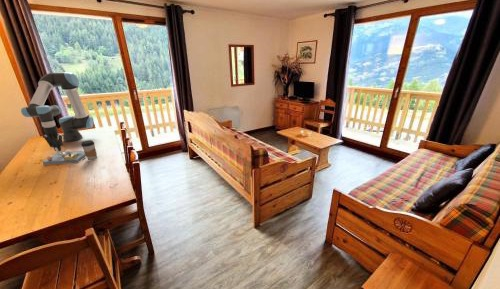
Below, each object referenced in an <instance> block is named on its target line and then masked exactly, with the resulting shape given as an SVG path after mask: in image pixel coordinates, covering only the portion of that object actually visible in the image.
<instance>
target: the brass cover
mask: <svg viewBox="0 0 500 289" xmlns="http://www.w3.org/2000/svg"><path fill="white" fill-rule="evenodd" d="M77 157H78V156H77V154H68V155H66V156H65V157H63V158H64V161H73V160H75V159H76V158H77Z"/></svg>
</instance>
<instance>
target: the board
mask: <svg viewBox="0 0 500 289" xmlns="http://www.w3.org/2000/svg"><path fill="white" fill-rule="evenodd" d="M61 153H65V154H66V155H68V154H77V156H78V157H77V158H76V159H75V160H73V161H64V158H63V157H62V156H61V155H57V153H56V152H55V154H53V155H50V156H51V157H52V158H53V159H52V160H47V158H45V159H44V160H43V161H42V164H43V166H45V165H46V166H47V165H61V164H76V163H79V162H81V161H82V160H83V159H85V158H87V157H86V155H85V153H84V150H82V151H71V152H70V153H66V151H65V152H63V151H61ZM66 155H65V156H66ZM65 156H64V157H65Z"/></svg>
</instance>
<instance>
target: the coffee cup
mask: <svg viewBox="0 0 500 289" xmlns="http://www.w3.org/2000/svg"><path fill="white" fill-rule="evenodd" d="M80 145H81V147H82V149H83V150H82V151H84V153H85V155H86V157H85V158H86V159H87V161H89V162H91V161H95V160H97V159H98V155H97V154H98V153H97V150H96V145H95V142H94V141H93V140H91V139H89V140H84V141H81V144H80Z"/></svg>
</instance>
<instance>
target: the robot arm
mask: <svg viewBox="0 0 500 289" xmlns="http://www.w3.org/2000/svg"><path fill="white" fill-rule="evenodd" d="M37 85H38V87H37V88H36V90H35V92H34V94H33V96H32V98H31V100H30V102H29V104H28V106H25V107H22V108H21V109H20V112H21V114H22V116H23V117H26V118H35V117H36V118H37V117H38V119H39V120H40V124H41V127H42V129H43V131H44V133H45V134H44V135H42V136H41V137H42V138H43V139H44V140H45V141H46V143H47V145H48V146H49V147H50V148H53V149H54V152H55V154H56V153H57V155H60V154H61V152H62V147H63V146H64V145H63V142H65V143H71V142H76V141H80V140H81V139H83V137H84V136H83V134H82V133H81V132H80V130H81V129H84V130H85V129H91V128H93V127H94V118H93V117H94V116H92V115H89V113H87V112H86V109H85V107H84V105H83V102H82V99H81V97H80V94H79V92H78V88H79V86H80V81H79V78H78V76H77V75H76V74H74V73H73V72H65V71H64V72H60V71H59V72H49V73H46V74H45V75H43V76H42V77H41V78H40V79H39V81H38V83H37ZM56 87H61V90H63V91H64V92H65V95H66V96H67V99H68V101H69V104H70V105H71V108H72V111H73V113H74V115H66V116H63V117H60V118H59V119H58V123H59V125H60V128H61V130H62V134H61V133H59V131H58V126H57V125H56V122H55V119H54V117H56V116H58V115H60V114H61V113H62V111H63V110H62V108H61V107H60V106H59V105H55V104H53V105H45V103H46V100H47V99H48V97H49V94H50V92H51V90H54V88H56Z"/></svg>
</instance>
